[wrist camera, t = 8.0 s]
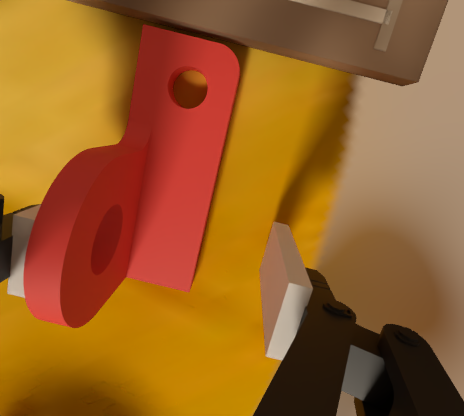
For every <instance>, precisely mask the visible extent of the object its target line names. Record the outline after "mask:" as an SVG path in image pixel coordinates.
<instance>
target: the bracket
mask: <svg viewBox="0 0 464 416" xmlns="http://www.w3.org/2000/svg"><path fill="white" fill-rule="evenodd" d="M188 70H195V71H198V72H200V73H202V74H203V75H204V77H205V78H206V81H207V86H208V90H207V95H206V97H205V99H204V101H203V102H202V103H201V104H200V105H199V106H197V107H195V108H191V109H185V108H183V107H182V106H180V105H179V104H178V102H177V101H176V99H175V97H174V93H173V86H174V82H175V80H176V78H177V77H178V76H179V75H180V74H181V73H183V72H185V71H188ZM239 80H240V68H239V63H238V60H237V57H236V56H235V54H234V53H233V51H232V50H231V49H230V48H228V47H227V46H225V45H223V44H220V43H217V42H213V41H209V40H205V39H201V38H197V37H193V36H189V35H185V34H181V33H177V32H173V31H169V30H165V29H161V28H157V27H153V26H149V25H145V24H143V28H142V35H141V41H140V48H139V54H138V61H137V67H136V74H135V80H134V87H133V93H132V100H131V106H130V113H129V119H128V124H127V128H126V131H125V134H124V136H123V138H122V140H121V141H120V142H119V143H118V144H116V145H110V146H103V147H96V148H90V149H86V150H84V151H82V152H80V153H79V154H77V155H76V156H75V157H74V158H72V159H71V160H70V161H69V162H68V163H67V164H66V165H65V167H64V168H63V169H62V170H61V172H60V173H59V174H58V176H57V177H56V179H55V180H54V182H53V183H52V185H51V187H50V188H49V190H48V192H47V194H46V196H45V198H44V200H43V202H42V204H41V206H40V208H39V211H38V213H37V216H36V218H35V221H34V224H33V227H32V230H31V234H30V237H29V241H28V246H27V250H26V256H25V262H24V273H23V285H24V295H25V300H26V303H27V306H28V308H29V310H30V312H31V313H32V314H33V315H34V317H36V318H37V319H40V320H43V321H47V322H51V323H56V324H60V325H64V326H68V327H72V328H78V327H81V326H83V325H85V324H86V323H87V322H89V321H90V320H91V319H92V318H93V317H94V316H95V315H96V313H97V312H98V311H99V310H100V308H101V307H102V306H103V305H104V304H105V302H106V301H107V300H108V299H109V297H110V296H111V295H112V294H113V292H114V291H115V290H116V289H117V287H118V286H119V285H120V284H121V283H122V281H123V280H124V279H125V278H126V277H128V278H132V279H137V280H141V281H145V282H149V283H153V284H157V285H161V286H165V287H169V288H174V289H178V290H182V291H186V292H189V291H190V289H191V286H192V283H193V279H194V275H195V270H196V266H197V262H198V257H199V253H200V249H201V244H202V240H203V236H204V231H205V227H206V223H207V218H208V214H209V210H210V205H211V201H212V197H213V192H214V188H215V184H216V179H217V175H218V171H219V166H220V162H221V158H222V153H223V149H224V145H225V140H226V136H227V132H228V127H229V123H230V119H231V114H232V110H233V106H234V101H235V97H236V93H237V88H238V84H239Z"/></svg>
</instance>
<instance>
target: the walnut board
mask: <svg viewBox="0 0 464 416" xmlns="http://www.w3.org/2000/svg"><path fill="white" fill-rule="evenodd" d="M68 1H72V2H75V3H79V4H83V5H87V6H91V7H95V8H99V9H103V10H107V11H111V12H115V13H118V14H122V15H126V16H130V17H134V18H138V19H142V20H146V21H150V22H154V23H157V24H161V25H165V26H169V27H173V28H177V29H181V30H185V31H189V32H193V33H197V34H200V35H204V36H208V37H212V38H216V39H220V40H224V41H228V42H232V43H236V44H239V45H243V46H247V47H251V48H255V49H259V50H263V51H267V52H271V53H275V54H278V55H282V56H286V57H290V58H294V59H298V60H302V61H306V62H310V63H314V64H318V65H321V66H325V67H329V68H333V69H337V70H341V71H345V72H349V73H353V74H357V75H360V76H364V77H368V78H373V79H376V80H380V81H384V82H388V83H392V84H396V85H400V86H405V85H409V84H413V83H416V82H419V79H420V76H421V73H422V71H423V68H424V65H425V62H426V60H427V57H428V54H429V52H430V49H431V46H432V43H433V41H434V38H435V35H436V32H437V30H438V27H439V24H440V22H441V19H442V16H443V13H444V11H445V8H446V5H447V2H448V0H68Z"/></svg>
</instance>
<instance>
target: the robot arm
mask: <svg viewBox="0 0 464 416" xmlns="http://www.w3.org/2000/svg"><path fill="white" fill-rule="evenodd" d="M40 206H41V204H38V205H31V206H28V207H25V208H22V209H21V210H17V211H14V212H13V213H9V214H6V215H3V207H4V196H3V195H1V194H0V282H2V281H3V280H5V279H7V278H8V277H9V278H8V292H7V293H8V294H12V295H16V296H20V297H24V298H25V295H24V285H23V273H24V262H25V256H26V250H27V246H28V241H29V237H30V234H31V230H32V227H33V224H34V221H35V218H36V216H37V213H38V211H39V208H40ZM260 283H261V297H262V311H263V325H264V339H265V353H266V357H270V358H274V359H278V360H282V362H281V364H280V366H279V368H278V370H277V372H276V373H275V375H274V377H273V379H272V381H271V383H270V385H269V387H268V388H267V390H266V392H265V394H264V396H263V398H262V400H261V402H260V403H259V405H258V407H257V409H256V411H255V413H254V415H253V416H336V413H337V408H338V403H339V399H340V394H341V390H342V391H344V392H346V393H348V394H350V395H352V396H354V403H355V408H356V414H357V416H464V401H463V399H462V398H461V396H460V394H459V393H458V391H457V389H456V388H455V386H454V384H453V383H452V381H451V379H450V378H449V376H448V375H447V373H446V371H445V370H444V368H443V366H442V365H441V363H440V361H439V360H438V358H437V357H436V355H435V353H434V352H433V350H432V348H431V347H430V345H429V344H428V343H427V342H426V340H424V339H423V338H422V337H421V336H419V335H418V333H416V332H415V331H412V330H411V329H409V328H406V327H402V326H399V325H395V324H386V325H385V326H383V328H382V331H381V333H380V334H377V333H375V332H373V331H370V330H368V329H365V328H363V327H361V326H359V325H357V324H356V323H355V322H356V315H355V313H354V312H353V311H352V310H351V309H350V308H349V307H347V306H346V305H345V304H343V303H341V302H339V301H336V300H335V298H334V296H333V294H332V291H331V290H330V288H329V286H328V285H327V281H326V279H325V278H324V276H323V275H321V274H320V273H319V272H318V271H317V270H313V269H309V268H305V267H304V264H303V261H302V259H301V256H300V254H299V251H298V249H297V246H296V243H295V241H294V238H293V236H292V233H291V231H290V228H289V225H286V224H282V223H278V222H273V225H272V229H271V232H270V236H269V239H268V243H267V246H266V250H265V253H264V257H263V260H262V264H261V267H260Z"/></svg>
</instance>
